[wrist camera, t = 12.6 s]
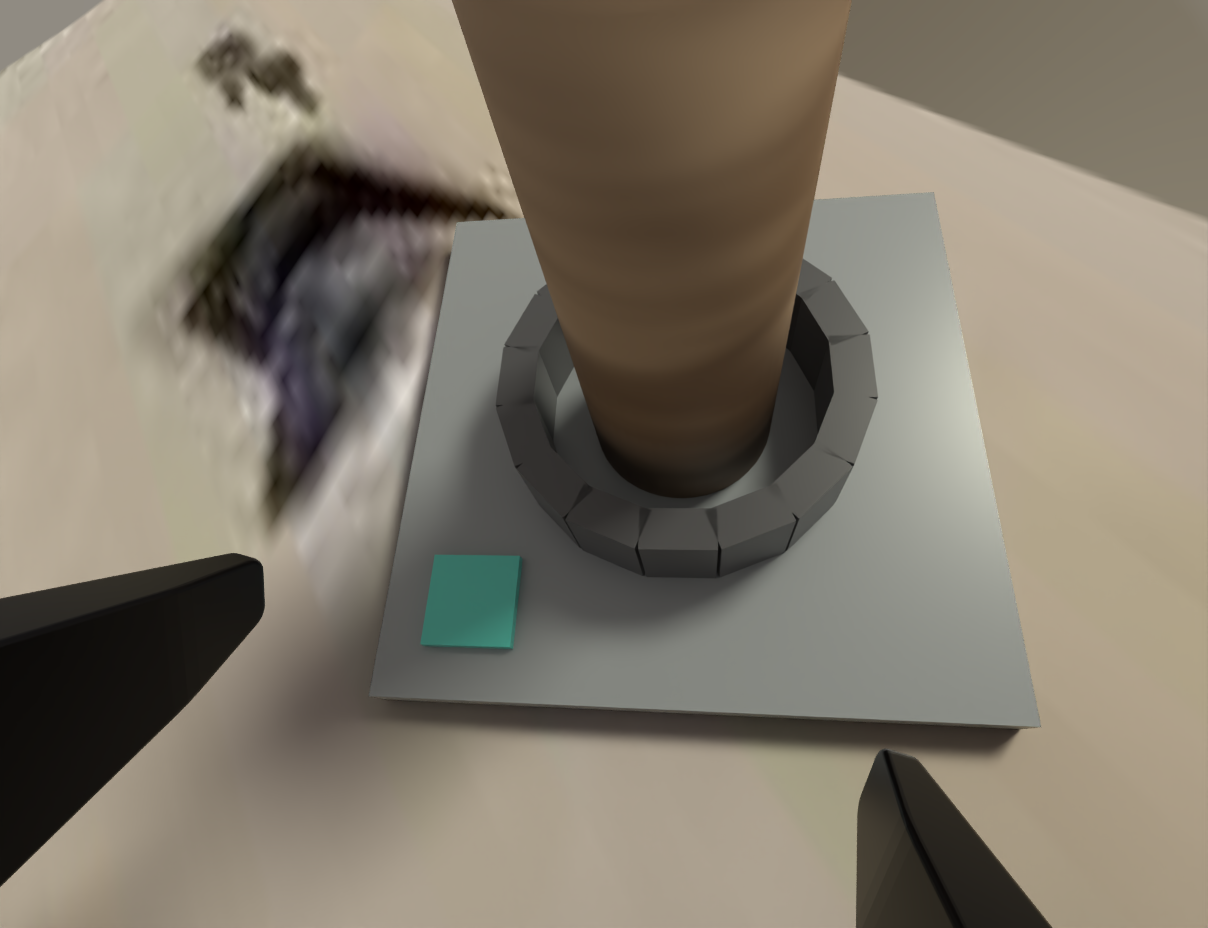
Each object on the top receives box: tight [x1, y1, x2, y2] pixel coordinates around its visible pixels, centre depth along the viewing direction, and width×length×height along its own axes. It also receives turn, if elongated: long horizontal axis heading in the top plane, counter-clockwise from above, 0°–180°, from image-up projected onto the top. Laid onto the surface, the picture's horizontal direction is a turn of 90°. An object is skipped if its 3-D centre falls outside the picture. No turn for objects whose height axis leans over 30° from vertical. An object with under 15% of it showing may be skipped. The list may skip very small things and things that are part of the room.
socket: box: [369, 192, 1041, 729], centre depth 19 cm, size 16×16×4 cm
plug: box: [452, 0, 852, 498], centre depth 13 cm, size 5×5×13 cm
